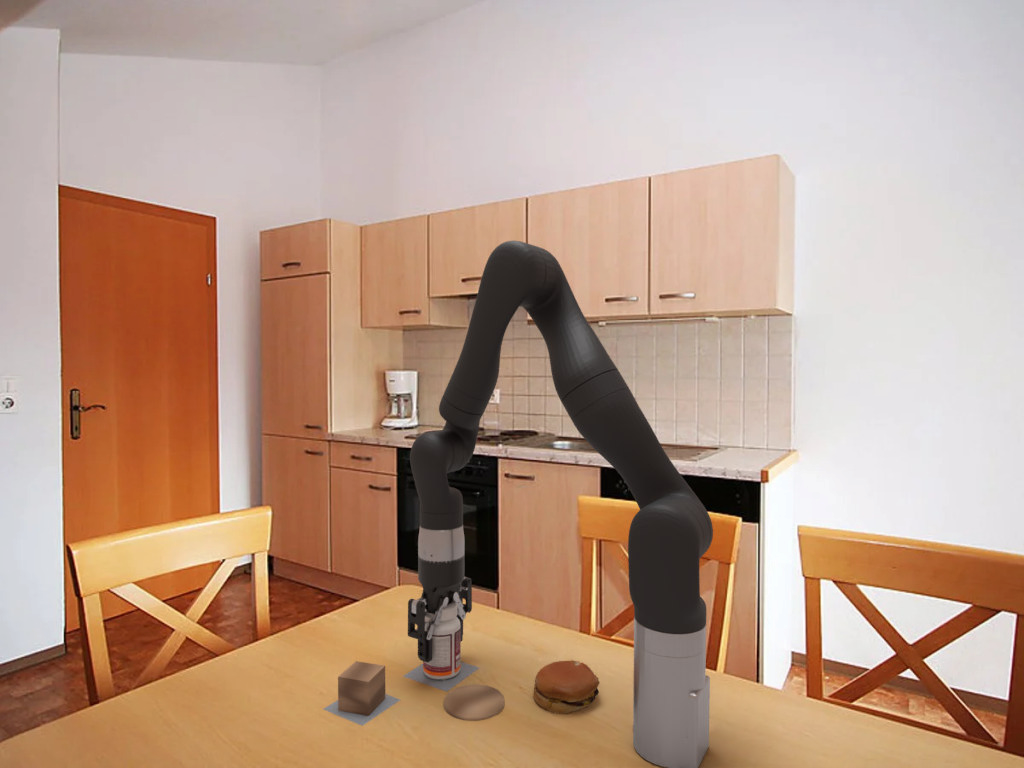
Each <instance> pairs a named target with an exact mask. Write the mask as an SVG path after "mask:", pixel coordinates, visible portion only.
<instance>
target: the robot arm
mask: <svg viewBox="0 0 1024 768" xmlns="http://www.w3.org/2000/svg"><path fill="white" fill-rule="evenodd" d="M519 307H522V308H523V309H524V310H525V311H526V313H528V315H529V317H530V319H532V321H533V322H534V324H535V325H536V327H537V329H538V330H539V331H538V332H540V334H541V336H542V337H543V339H544V342H545V344H546V348H547V352H548V357H549V364H550V371H551V377H552V381H553V385H554V390H555V392H556V393H557V396H558V398H559V400H560V402H561V403H562V406H563V407H564V409H565V411H566V412H567V415H568V417H569V418H570V419H571V421H572V423H573V425H574V427H575V428H576V430H577V431H578V433H579V434H580V436H582V437H583V439H584V440H585V441H586V442H587V443H588V444H589V445H590V446H591V447H592V448H593V449H594V450H595V451H596V452H597V453H598V454H599V455H600V456H601V457H602V458H603V459H604V460H605V461H607V462H608V464H610V466H612V468H613V469H615V470H616V471H617V473H618V474H619V475H620V476H621V478H622V479H623V481H624V482H625V484H626V485H627V487H628V490H629V491H630V492H631V494H632V497H633V498H634V500H635V502H636V504H637V506H638V508H639V510H638V511H637V513H636V514H635V515H634V516H633V517H632V520H631V522H630V525H629V526H630V527H629V530H628V531H629V532H628V540H627V553H628V554H627V557H628V558H627V560H628V561H627V562H628V565H627V566H628V588H629V590H628V591H629V596H630V599H631V602H632V604H633V609H634V610H633V612H634V613H633V695H632V696H633V698H632V700H633V702H632V704H633V705H632V707H633V708H632V709H633V710H632V711H633V715H632V719H633V721H632V744H633V748H634V750H635V751H636V753H637V754H638V755H639V756H640V757H641V758H643V759H644V760H646V761H647V762H650V763H652V764H653V765H657V766H660V767H663V768H699V767H700V764H701V763H702V761H703V759H704V757H705V755H706V753H707V751H708V748H709V746H710V702H711V701H710V699H711V698H710V697H711V695H710V694H711V693H710V692H711V686H710V685H711V677H710V676H709V675H707V674H706V671H707V669H706V667H707V666H706V665H707V664H706V658H707V656H706V655H707V653H706V652H707V604H706V602H705V600H704V599H703V598H702V597H701V592H700V590H701V589H700V561H701V560H700V559H701V558H702V557H703V556H704V555H705V553H706V552H708V550H709V548H710V547H711V544H712V542H713V537H714V529H713V527H714V526H713V521H712V519H711V517H710V514H709V513H708V511H707V509H706V507H705V505H704V504H703V503H702V501H701V500H700V499H699V497H698V496H697V495H696V493H695V492H694V490H692V488H691V487H690V486H689V484H688V482H687V481H686V480H685V478H684V477H683V476H682V475H681V473H680V472H679V470H678V469H677V467H675V465H674V463H673V462H672V460H671V459H670V457H669V456H668V454H667V453H666V451H665V449H664V448H663V446H662V445H661V443H660V441H659V438H658V437H657V436H656V433H655V431H654V430H653V428H652V426H651V425H650V423H649V420H648V419H647V418H646V416H645V414H644V413H643V411H642V409H641V407H640V406H639V404H638V402H637V399H635V396H634V394H633V393H632V390H631V389H630V387H629V386H628V384H627V382H626V381H625V379H624V377H623V376H622V374H621V372H620V371H619V369H618V367H617V366H616V364H615V363H614V361H613V360H612V358H611V357H610V355H609V354H608V351H607V350H606V348H605V347H604V345H603V344H602V342H601V340H600V339H599V337H598V336H597V333H595V331H594V329H593V327H592V326H591V325H590V323H589V322H588V320H587V318H586V317H585V315H584V313H583V311H582V309H581V307H580V305H579V303H578V301H577V299H576V297H575V295H574V291H573V290H572V287H571V286H570V283H569V282H568V279H567V276H566V275H565V272H564V270H563V268H562V266H561V264H560V263H559V261H558V260H557V258H556V257H555V256H554V255H553V254H552V253H551V252H550V251H549V250H546V249H545V248H543V247H539V246H538V245H537V246H536V245H535V244H530V243H528V242H524V241H520V240H507V241H504V242H501V243H500V244H499V245H497V246H496V247H495V248H494V249H493V250H492V252H491V253H490V255H489V257H488V259H487V261H486V263H485V266H484V270H483V272H482V276H481V279H480V283H479V287H478V291H477V295H476V299H475V303H474V306H473V310H472V313H471V316H470V320H469V325H468V328H467V332H466V335H465V340H464V343H463V345H462V349H461V352H460V355H459V357H458V360H457V362H456V364H455V367H454V370H453V372H452V374H451V377H450V379H449V380H448V383H447V385H446V387H445V390H444V393H443V395H442V397H441V399H440V401H439V402H440V403H439V405H438V412H439V415H440V417H442V419H443V420H444V421H445V424H444V427H443V428H442V430H436V431H429V432H424V433H422V434H420V435H419V436H417V437H416V438H415V440H414V441H413V443H412V446H411V449H410V454H409V462H410V463H409V464H410V468H411V473H412V477H413V479H414V486H415V489H416V493H417V496H418V499H419V529H418V530H419V533H418V538H417V539H418V541H417V547H418V548H417V551H418V552H417V554H418V556H417V558H418V559H417V562H418V564H417V567H418V569H417V575H418V576H417V577H418V578H417V579H418V581H419V583H420V585H421V586H422V593H421V597H420V598H417V599H414V598H410V599H409V600H408V602H407V637H409V638H413V639H416V640H417V657H418V659H419V660H420V661H422V662H423V661H424V662H430V661H431V660H432V638H431V637H432V634H433V631H434V629H435V627H436V626H438V625H439V622H440V619H441V617H442V610H444V609H445V608H446V606H447V605H449V604H451V603H452V602H453V603H457V616H456V617H457V618H458V619H459V620H460V626H461V642H463V640H464V639H463V637H464V620H465V619H466V616H467V614H468V613H469V614H470V613H471V612H472V609H473V601H472V600H473V597H472V596H473V593H472V591H473V590H472V589H473V587H472V582H473V581H472V578H470V577H467V576H465V534H464V533H465V532H464V499H463V494H462V492H461V491H460V490H459V489H457V488H455V487H453V486H452V487H451V486H450V484H449V480H448V474H450V473H453V472H456V471H460V470H461V469H463V468H464V467H466V465H467V464H468V463H469V461H470V460H471V458H472V457H473V454H474V452H475V449H476V445H477V439H478V433H479V431H480V430H479V429H480V422H481V419H482V417H483V415H484V413H485V411H486V410H487V406H488V405H489V403H490V400H491V398H492V396H493V394H494V392H495V389H496V385H497V382H498V379H499V374H500V373H499V372H500V363H501V362H500V361H501V353H502V345H503V341H504V337H505V333H506V331H507V328H508V327H509V324H510V322H511V320H512V319H513V317H514V315H515V313H516V312H517V311H518V309H519ZM463 599H464V600H465V603H463V602H464V601H463ZM427 612H428V613H431V614H435V616H434V617H433V618H428V617H426V615H427ZM426 623H429V626H428V628H427V631H425V624H426ZM416 626H417V627H416Z"/></svg>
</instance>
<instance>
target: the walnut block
mask: <svg viewBox="0 0 1024 768" xmlns="http://www.w3.org/2000/svg"><path fill="white" fill-rule="evenodd" d="M385 694H386V665H382V664H378V663H377V664H376V663H370V662H365V661H364V662H363V661H357V660H356V661H354V662H353V663H352V664H351V665H349V666H348V667H347V668H346V669H345V670H344V671H343V672H341V673H340V674H339V675H338V676H337V698H338V699H337V700H338V710H340V711H345V712H350V713H356V714H361V715H367V716H369V715H370V714H371V713H372V712H373V711H374V710H375V709H376V708H377V707H378V706H379V704H380V703H381V702H382V701H383V700H384V699H385Z"/></svg>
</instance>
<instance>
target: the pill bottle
mask: <svg viewBox="0 0 1024 768" xmlns="http://www.w3.org/2000/svg"><path fill="white" fill-rule="evenodd" d="M434 616H435V614H431V613H428V612H427V615H426V617H428V618H433V617H434ZM456 616H457V603H453V602H452V603H451V604H449V605H447V606H446V608H445V609H444V610H442V617H441V619H440V622H439V625H438V626H436V627H435V629H434V631H433V634H432V637H431V638H432V660H431V661H430V662H424V661H422V664H423V671H424V673H425V675H426V676H428V677H429V678H431V679H436V680H443V679H449V678H452V677H454V676H456V675H457V674H458V673H459V671H460V667H461V662H462V659H461V658H462V657H461V654H462V652H461V651H462V649H461V647H462V646H461V643H462V641H461V626H460V620H459V619H458V618H457V617H456ZM428 626H429V623H426V624H425V631H427V628H428Z"/></svg>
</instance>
